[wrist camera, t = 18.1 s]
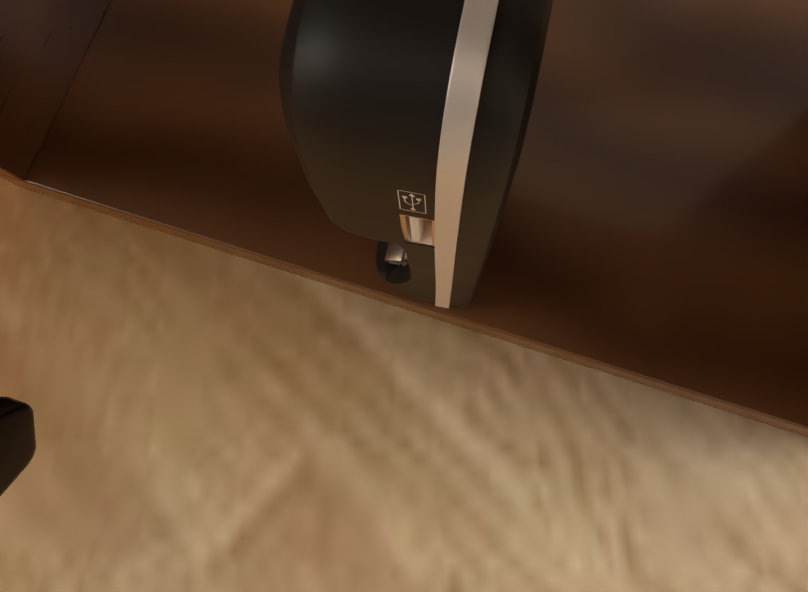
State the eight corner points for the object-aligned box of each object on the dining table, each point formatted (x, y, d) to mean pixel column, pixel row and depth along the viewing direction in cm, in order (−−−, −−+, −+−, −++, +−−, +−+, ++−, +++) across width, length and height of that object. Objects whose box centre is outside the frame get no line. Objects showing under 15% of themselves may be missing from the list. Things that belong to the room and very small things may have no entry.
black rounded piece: (395, 92, 20) (345, -339, 9) (510, 112, 19) (613, -312, 8) (346, 296, 18) (212, 98, 7) (469, 320, 18) (528, 152, 7)
